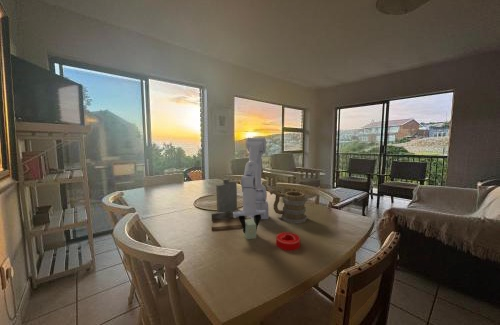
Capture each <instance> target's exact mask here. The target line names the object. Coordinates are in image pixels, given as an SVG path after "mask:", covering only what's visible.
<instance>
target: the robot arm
mask: <svg viewBox="0 0 500 325" xmlns="http://www.w3.org/2000/svg"><path fill="white" fill-rule="evenodd" d="M245 146H246V149H247V151H248V161H247V162H246V163H245V166H244V173H243V176H241V179H240V186H241V193H242V210H237V211H238V212H233V217H234V218H236V217H239V220H240V222H241V224H242V227H243V228H242V231H243V234H244V233H245V217H244V216H246V217H249V219H253V220H254V222H255V224H256V233H257V232H258V231H257V230H258V228H259V223H260V222H261V220H269V203H268V201H267V196H268V194H267V193H268V192H267V187H266V186H265V185H264V184H262V168H263V167H262V162H263V161H262V160H263V159H262V158H263V155H264V154H266V152H267V139H266V137H247V138H246V141H245Z"/></svg>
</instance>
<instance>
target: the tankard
mask: <svg viewBox="0 0 500 325" xmlns="http://www.w3.org/2000/svg"><path fill="white" fill-rule="evenodd" d="M269 194H270V195H274V196H275V198H274V199H275V200H274V202H273V206H272V207H273V211H274V212H275V214H279V215H281V217H280V218H281V219H282V221H284V222H286V223H290V224H296V225H297V224H298V225H299V224H302V223H306V221H307V219H308V216H307V215H306V214H305V212H306V205H305V204H306V203H307V202H306V200H307V199H306V197H305V193H303V192H301V191H295V190H293V191H292V190H290V191H286V192H285V193H280V192H278V191H277V190H275V189H273V190H271V191H269ZM280 198H282V203H283V207H282V210H280V209H279V208H278V205H279V202H280Z"/></svg>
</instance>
